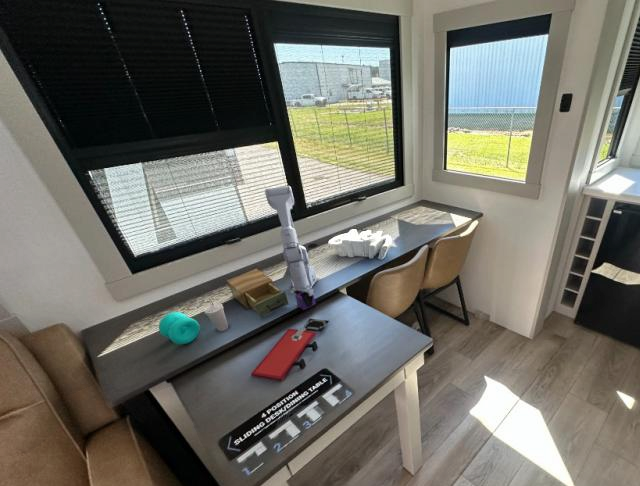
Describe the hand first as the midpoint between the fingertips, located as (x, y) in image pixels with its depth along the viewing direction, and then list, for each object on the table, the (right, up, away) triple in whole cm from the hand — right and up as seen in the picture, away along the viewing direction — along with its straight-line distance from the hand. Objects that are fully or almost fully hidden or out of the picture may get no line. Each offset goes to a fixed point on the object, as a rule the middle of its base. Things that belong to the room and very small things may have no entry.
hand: (306, 303), depth 132 cm
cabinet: (-26, +4, +9) cm, 28 cm away
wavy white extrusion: (+19, +27, +39) cm, 51 cm away
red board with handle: (+3, -15, -21) cm, 26 cm away
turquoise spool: (-42, -13, -13) cm, 46 cm away
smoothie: (-30, -10, -9) cm, 33 cm away
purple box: (0, -1, 0) cm, 1 cm away
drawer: (-15, -1, 0) cm, 15 cm away
